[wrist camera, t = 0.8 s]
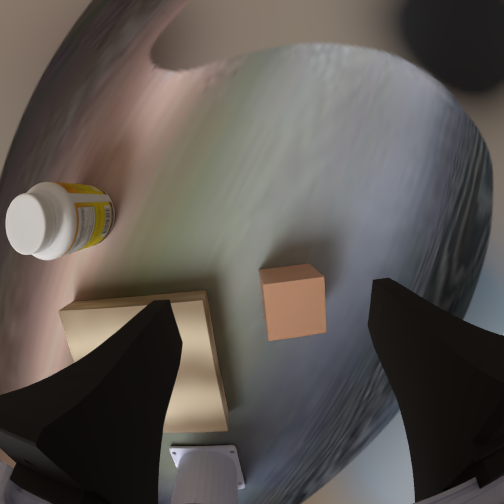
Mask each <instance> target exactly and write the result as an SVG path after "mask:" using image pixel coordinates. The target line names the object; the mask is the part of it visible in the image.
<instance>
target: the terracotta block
mask: <svg viewBox="0 0 504 504" xmlns="http://www.w3.org/2000/svg"><path fill="white" fill-rule="evenodd" d="M259 279H260V288H261V297H262V306H263V316H264V321H265V326H266V330H267V335H268V340H269V341H273V340H280V339H288V338H295V337H301V336H308V335H314V334H320V333H326V305H325V283H324V276H323V275H322V274H321V273H319V272H318V271H317V270H316V269H315V268H314V267H313V266H311V265H310V264H309V263H308V264H300V265H292V266H284V267H276V268H268V269H259Z"/></svg>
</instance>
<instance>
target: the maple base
mask: <svg viewBox="0 0 504 504" xmlns="http://www.w3.org/2000/svg"><path fill="white" fill-rule="evenodd" d="M168 299H169V300H170V303H171V307H172V310H173V313H174V316H175V320H176V323H177V326H178V329H179V332H180V335H181V338H182V341H183V346H182V354H181V361H180V367H179V370H178V374H177V378H176V381H175V385H174V388H173V392H172V395H171V399H170V402H169V406H168V409H167V413H166V417H165V422H164V427H163V432H172V433H185V432H217V431H228V421H229V412H228V407H227V402H226V397H225V392H224V387H223V382H222V377H221V372H220V366H219V361H218V355H217V350H216V344H215V339H214V333H213V327H212V321H211V315H210V309H209V303H208V297H207V290H198V291H189V292H179V293H168V294H158V295H147V296H135V297H124V298H111V299H98V300H85V301H73V302H71V303H70V304H68V305H67V306H65V307H64V308H62V309H61V310H59V314H60V318H61V322H62V325H63V328H64V332H65V335H66V338H67V341H68V345H69V348H70V351H71V354H72V356H73V359H74V362H76V361H78V360H79V359H81V358H82V357H84V356H86V355H87V354H88V353H90V352H91V351H93V350H94V349H95V348H97V347H98V346H99V345H101V344H102V343H103V342H104V341H105V340H107V339H108V338H109V337H110V336H112V335H113V334H114V333H115V332H117V331H118V330H119V329H120V328H121V327H123V326H124V325H125V324H126V323H127V322H128V321H129V320H131V319H132V318H133V317H134V316H135V315H136V314H138V313H139V312H140V311H141V310H142V309H143V308H145V307H146V306H147V305H148V304H150V303H151V302H152V301H154V300H168Z"/></svg>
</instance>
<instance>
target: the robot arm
mask: <svg viewBox="0 0 504 504" xmlns="http://www.w3.org/2000/svg"><path fill="white" fill-rule="evenodd" d="M368 328H369V332H370V335H371V339H372V342H373V345H374V348H375V350H376V353H377V355H378V357H379V359H380V362H381V364H382V366H383V368H384V371H385V373H386V375H387V377H388V380H389V382H390V384H391V386H392V389H393V391H394V393H395V396H396V398H397V401H398V404H399V407H400V411H401V415H402V418H403V422H404V426H405V430H406V435H407V439H408V444H409V450H410V456H411V462H412V468H413V478H414V490H415V503H413V504H504V336H502V335H499V334H496V333H493V332H490V331H487V330H484V329H482V328H479V327H477V326H475V325H472V324H470V323H468V322H466V321H463V320H461V319H459V318H457V317H455V316H453V315H451V314H450V313H448V312H446V311H444V310H442V309H440V308H439V307H437V306H435V305H434V304H432V303H430V302H428V301H427V300H425V299H424V298H422V297H420V296H419V295H417V294H415V293H414V292H412V291H411V290H409V289H407V288H406V287H404V286H402V285H401V284H399V283H397V282H396V281H394V280H392V279H390V278H383V279H376V280H373V284H372V294H371V303H370V312H369V320H368ZM182 346H183V341H182V338H181V335H180V332H179V329H178V326H177V323H176V320H175V316H174V313H173V310H172V307H171V303H170V300H169V299H168V300H154V301H152V302H151V303H150V304H148V305H147V306H146V307H145V308H143V309H142V310H141V311H140V312H139V313H138V314H136V315H135V316H134V317H133V318H132V319H131V320H129V321H128V322H127V323H126V324H125V325H124V326H123V327H121V328H120V329H119V330H118V331H117V332H115V333H114V334H113V335H112V336H110V337H109V338H108V339H107V340H105V341H104V342H103V343H102V344H101V345H99V346H98V347H97V348H95V349H94V350H93V351H91V352H90V353H88V354H87V355H86V356H84V357H82V358H81V359H79V360H78V361H76V362H75V363H73V364H72V365H70V366H68V367H66V368H64V369H63V370H61V371H59V372H57V373H55V374H53V375H52V376H50V377H48V378H45V379H43V380H41V381H39V382H37V383H34V384H32V385H29V386H27V387H24V388H21V389H18V390H15V391H12V392H9V393H6V394H2V395H0V448H1V449H2V450H3V451H4V452H5V453H6V454H7V455H8V456H9V457H11V458H12V459H13V460H14V461H15V462H16V465H15V467H14V468H12V467H11V466H9V465H8V464H6V463H4V462H3V461H1V460H0V504H158V477H159V461H160V450H161V442H162V434H163V427H164V422H165V417H166V413H167V409H168V406H169V402H170V399H171V395H172V392H173V388H174V385H175V381H176V378H177V374H178V370H179V367H180V361H181V354H182ZM169 451H170V453H171V455H172V458H173V460H174V462H175V465H176V467H177V469H178V470H177V475H176V480H175V485H174V490H173V495H172V501H171V504H238V489H243V488H245V482H244V478H243V474H242V470H241V466H240V462H239V458H238V454H237V449H236V446H235V445H218V446H171V447H170V448H169Z"/></svg>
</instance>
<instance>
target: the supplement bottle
mask: <svg viewBox="0 0 504 504" xmlns="http://www.w3.org/2000/svg"><path fill="white" fill-rule="evenodd" d="M114 218H115V212H114V206H113V203H112V200H111V198H110V197H109V195H108V194H107V193H106V192H105V191H104V190H103V189H101V188H99V187H97V186H94V185H85V184H70V183H57V182H42V183H39V184H37V185H35V186H33V187H32V188H31V189H30V190H29V191H28V192H27V193H24V194H21V195H19V196H17V197H16V198H15V199H14V200H13V201H12V202H11V204H10V206H9V208H8V211H7V215H6V232H7V236H8V239H9V241H10V243H11V245H12V246H13V248H14V249H15V250H16V251H17V252H19V253H21V254H24V255H30V254H32V255H33V256H35V257H36V258H39V259H42V260H52V259H56V258H59V257H62V256H64V255H67V254H70V253H73V252H76V251H79V250H81V249H84V248H87V247H90V246H93V245H96V244H98V243H100V242H102V241H103V240H104V239H105V238H106V237H107V236H108V235H109V233H110V232H111V230H112V227H113V224H114Z"/></svg>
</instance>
